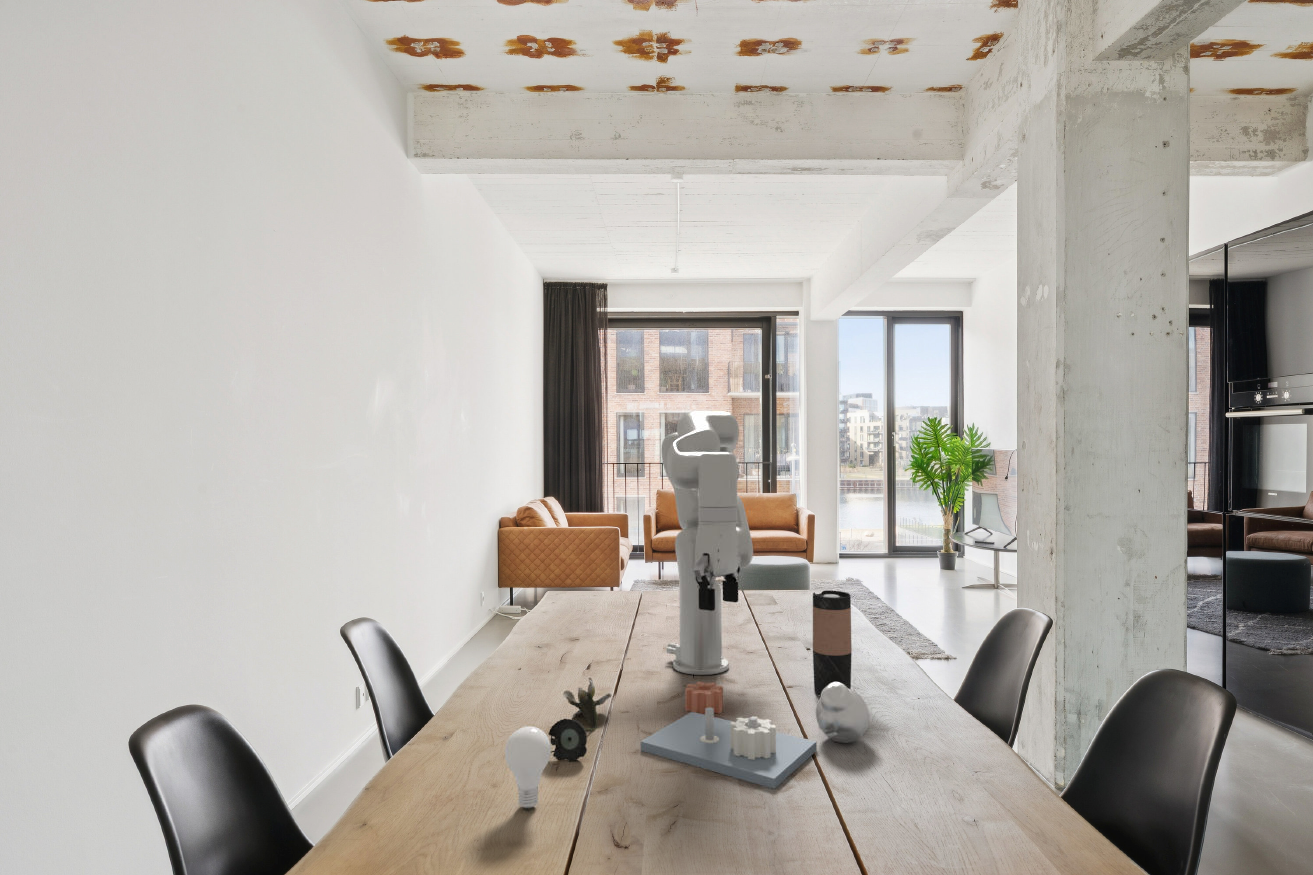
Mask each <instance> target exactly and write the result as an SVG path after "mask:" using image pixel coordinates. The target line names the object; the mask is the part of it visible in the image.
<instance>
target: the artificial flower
mask: <svg viewBox="0 0 1313 875" xmlns="http://www.w3.org/2000/svg"><path fill="white" fill-rule="evenodd" d="M588 682H589V684H588V687H587V691H586V690H585V689H583V687H580V686H578V688H577V689H578V690H577V699H578V701H576V698H575V695H574V693H573V692H572V691H571V690H569V689H568V690H565V691H563V693H562V695H563V698H566V699H567V702H568V704H569V705H571V706H574V707H575V708H577V709H578V710H577V711H576V712H575V713H574V714H572V718H574V717H576V716H578V715H580V714H581V713H582V714H583V716H584V718H585V719H586V720H587V722H588V723H589V724H590V726H591V727H592V728H591V727H590V728H585V727H584V726H583V724H582V723H581V722H579V721H577V720H574V719H571V718H563V719H560V720H559V721H556V722H555V723H554V724H553V725H552V726H551V727H550V729H549V732H548V733H547V735H548V736H550V738H549V740H550V744H551V747H553V746H555V748H554V750H551V753H553V754H552V756H553V758H555V759H556V760H557V761H558V762H562V761H561V760H565V759H567V760H566V761H568V762H569V763H570V762H572V761H577V760H578V759H580V758H584V757H585V755H586V754H587V752H588V749H589V748H590V747H588V748H587V746H586V745H587V743H588V742H587V741H588V740H587V739H588V738H587V733H589V732H594V731H595V730H596V729H597V724H598V719H599V716H598V713H597V712H598V711H597V706H601V705H603V704H604V703H605V702H606V701H608V700H609V699H610V698H611V697H612V693H610V692H608V693H607V694H604V696H602V697H600V698H599V699H596V700H594V696H595V694H596V688H595V685H594V683H593V679H592V677H589V678H588ZM559 760H560V761H559ZM569 760H570V761H569Z"/></svg>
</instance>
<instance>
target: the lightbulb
mask: <svg viewBox="0 0 1313 875" xmlns="http://www.w3.org/2000/svg"><path fill="white" fill-rule="evenodd" d="M548 736H549V735H548V734H546V732H544V730H542V729H541V728H538V727H536V726H532V725H529V726H527V725H526V726H523V727H520V728H518V729H516V730H515V731H513V733H512V734H511V735H510V736H509V737H508V739H507V741H506V743H505V747H504V758H505V762H506V764H507V766H508V768H509V770H510V771H511V772H512V774H513V776H514V778H515V782H516V785H517V788H518V791H517V792H518V793H517V794H518V799H517V800H518V804H517V805H518V806H519V807H521V808H523V809H526V810H529V809H530V810H531V809H532V808H533V807H535V806H537V805H538V803H539V802H538V801H539V798H538V797H539V790H538V789H539V785H540V781H541V777H542V773H543V771H544V770H545V768H546V767H547V765H548V763H549V761H550V759H551V751H552V744H551V742H550V738H549V737H548Z"/></svg>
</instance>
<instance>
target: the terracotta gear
mask: <svg viewBox="0 0 1313 875" xmlns="http://www.w3.org/2000/svg"><path fill="white" fill-rule="evenodd" d="M684 692H685V693H684V694H685V696H684V697H685V703H684V706H685V711H686V712H690V713H691V712H695V713H700V714H704V715H705V708H713V709H714V714H721V713H722V712H723V709H724V687H723V686H722V685H717V684H716V682H709V683H708V682H703V681H697V682H696V683H693V684H692V683H688V684H686V687H685V690H684Z"/></svg>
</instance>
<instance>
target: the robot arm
mask: <svg viewBox="0 0 1313 875" xmlns="http://www.w3.org/2000/svg"><path fill="white" fill-rule="evenodd" d="M739 434H740V428H739V422H738V421H737V418H736V416H735V415H733V414H732V413H730V412H727V411H694V412H693V411H692V412H688V413H686V414H684V415H683V416H681V417H680V419H679V420H678V422H677V424H676V432H673V433H670V434H668V435H666V436H665V437H664V438H663V441H662V443H661V460H662V465H663V470H664V471H665V472H664V473H665V475H666V477H667V479H668V480H669V482H670V484H671V486H672V488H673V490H674V498H675V499H674V500H675V506H676V512H677V514H676V515H677V519H678V524H679V526H680V528H681V529H682V530H681V531H679V532H678V534H676V537H675V541H674V542H675V543H674V549H675V557H676V562H677V570H678V571H677V572H678V584H679V585H678V588H679V590H678V592H679V595H678V596H679V643H677V642H676V643H675V642H669V643H668V644H667V647H666V653H667V654H671V655H674V656H675V659H673V661H672V667H673V669H675V670H676V671H678V672H680V673H684V674H688V675H696V676H697V675H698V676H704V675H705V676H709V675H715V674H721V673H723V672H725V671H727V670H728V669H729V666H730V665H729V664H730V663H729V660H728V659H727V658H725V657H723V654H722V653H723V652H722V650H723V647H722V645H723V644H722V642H723V641H722V640H723V638H722V637H723V636H722V634H723V633H722V623H723V622H722V618H723V617H722V601H723V602H727V603H738V602H739V580H740V576H739V574H740V571H741V569H744V568H747V567H748V566H749V565H750V564H751V563H752V560H753V556H754V548H753V545H754V544H753V540H752V536H751V531H750V527H749V523H748V517H747V514H746V510H745V506H744V503H743V500H742V499H741V498H740V496H739V495H738V480H739V477H740V465H739V461H738V459H737V457H736V455H735V454H734V452H735V449H736V446H737V444H738V441H739V438H740V437H739ZM721 577H723V579H724V580H722V587H721V586H720V584H719V582H718V581H717V580H716V579H717V578H721ZM721 588H722V589H721Z"/></svg>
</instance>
